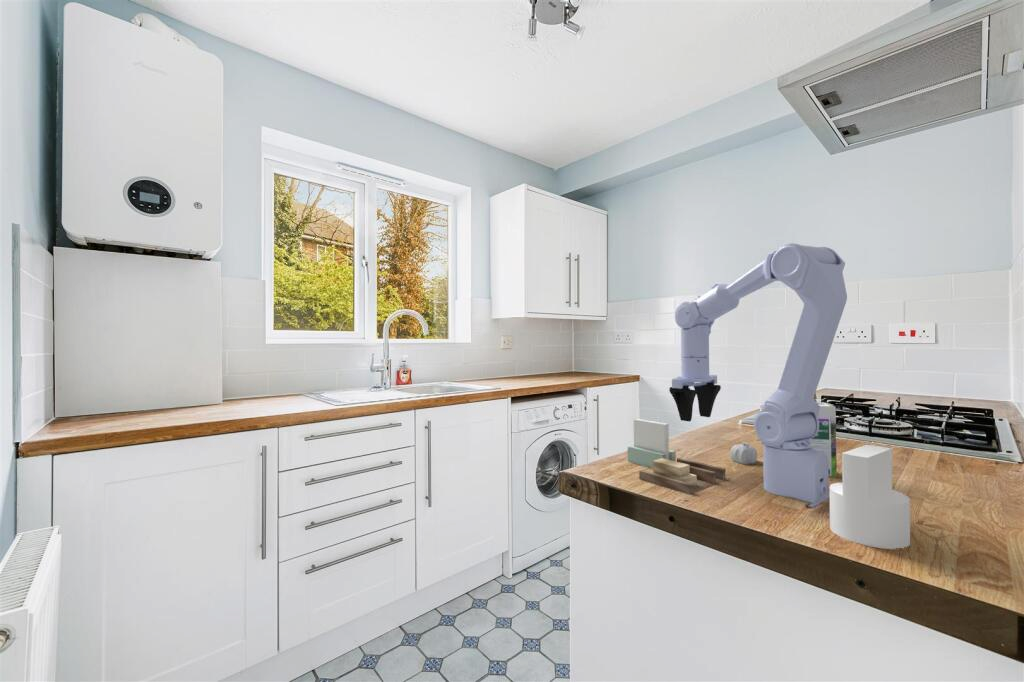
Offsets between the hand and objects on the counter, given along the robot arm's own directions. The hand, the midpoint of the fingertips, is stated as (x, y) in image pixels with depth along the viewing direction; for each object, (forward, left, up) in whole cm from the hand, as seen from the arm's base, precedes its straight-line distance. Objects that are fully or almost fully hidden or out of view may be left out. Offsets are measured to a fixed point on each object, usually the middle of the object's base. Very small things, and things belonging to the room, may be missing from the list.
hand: (695, 418), depth 98 cm
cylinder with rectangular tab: (-34, +12, -11) cm, 38 cm away
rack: (-5, +12, -10) cm, 17 cm away
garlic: (-6, -9, -11) cm, 15 cm away
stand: (+6, +9, -10) cm, 15 cm away
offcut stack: (-5, +16, -10) cm, 19 cm away
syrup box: (-18, -14, -11) cm, 25 cm away
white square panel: (+6, +9, -9) cm, 14 cm away
